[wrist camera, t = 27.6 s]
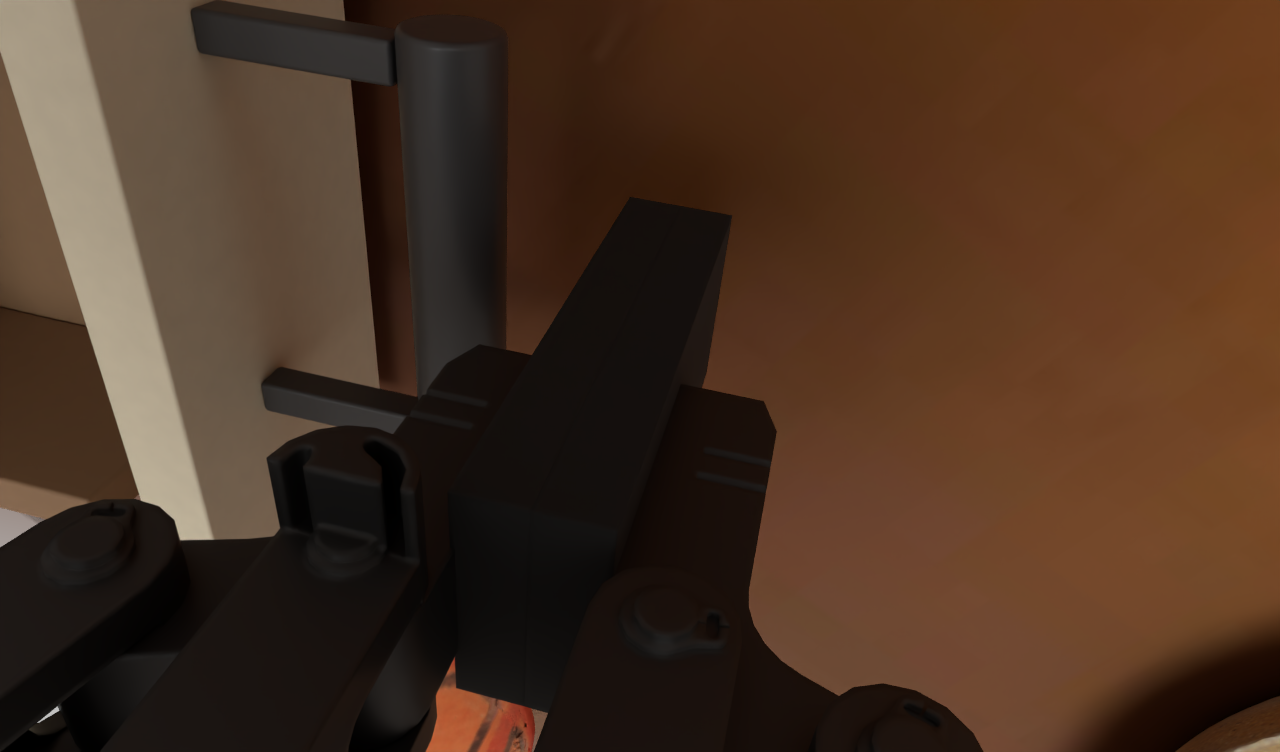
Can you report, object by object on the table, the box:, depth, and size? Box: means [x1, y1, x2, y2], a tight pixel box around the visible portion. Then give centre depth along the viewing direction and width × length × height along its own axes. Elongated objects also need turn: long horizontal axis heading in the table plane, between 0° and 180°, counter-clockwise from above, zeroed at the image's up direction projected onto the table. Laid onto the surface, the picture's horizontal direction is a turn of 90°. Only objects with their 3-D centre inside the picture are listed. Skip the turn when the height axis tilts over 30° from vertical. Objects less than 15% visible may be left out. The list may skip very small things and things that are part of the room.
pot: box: [426, 658, 535, 752], centre depth 23 cm, size 8×8×7 cm
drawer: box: [0, 0, 508, 540], centre depth 15 cm, size 17×12×6 cm
